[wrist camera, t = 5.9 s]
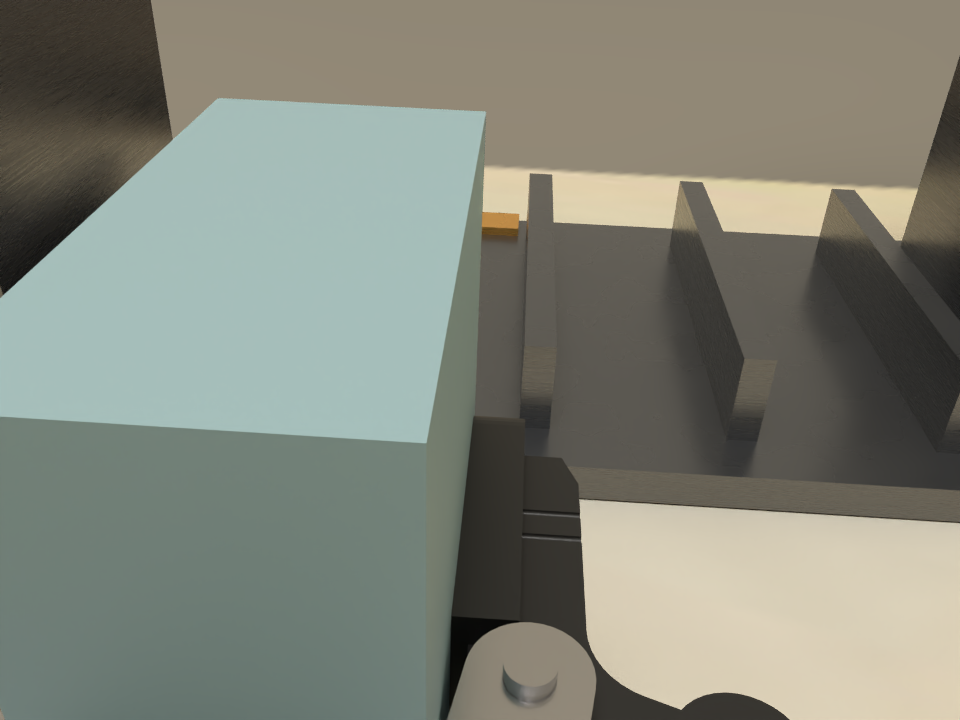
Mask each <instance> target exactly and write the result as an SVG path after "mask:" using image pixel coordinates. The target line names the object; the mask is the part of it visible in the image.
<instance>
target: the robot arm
mask: <svg viewBox="0 0 960 720" xmlns="http://www.w3.org/2000/svg"><path fill="white" fill-rule="evenodd" d="M524 446H525V419H521V418H504V417H487V416H474V417H473V424H472V433H471V442H470V451H469V460H468V469H467V478H466V487H465V496H464V505H463V514H462V523H461V532H460V541H459V550H458V559H457V568H456V577H455V586H454V595H453V604H452V613H451V645H450V689H449V715H448V718H447V720H789V719H788V718H787V717H786V716H785V715H784V714H782V713H781V712H779V711H778V710H777V709H775V708H774V707H772V706H770V705H768V704H766V703H764V702H762V701H760V700H757V699H755V698H752V697H749V696H745V695H741V694H735V693H714V694H709V695H705V696H702V697H700V698H697V699H695V700H693V701H692V702H690V703H689V704H687V705H686V706H685V707H684V708H683V709H682V710H680V709H677V708H674V707H672V706H669V705H666V704H663V703H661V702H658V701H655V700H653V699H650V698H647V697H644V696H642V695H640V694H638V693H635V692H633V691H631V690H630V689H628V688H626V687H624V686H623V685H621V684H620V683H619V682H617V681H616V680H615V679H613V678H612V677H611V676H610V675H609V674H608V673H607V672H606V671H605V670H604V669H603V668H602V666H601V665H600V664H599V662H598V661H597V660H596V658H595V656H594V654H593V653H592V651H591V648H590V645H589V642H588V638H587V632H586V615H585V596H584V578H583V560H582V543H581V523H580V504H579V486H578V482H577V481H576V479H575V478H574V476H573V475H572V473H571V472H570V470H569V469H568V467H567V465H566V464H565V462H564V461H563V459H562V458H556V457H540V456H524ZM0 720H5V718H4V716H3V713H2V711H1V708H0Z"/></svg>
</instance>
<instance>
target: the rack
mask: <svg viewBox="0 0 960 720" xmlns="http://www.w3.org/2000/svg"><path fill="white" fill-rule="evenodd" d="M172 140H173V138H172V132H171V126H170V119H169V113H168V107H167V101H166V95H165V88H164V81H163V76H162V69H161V62H160V56H159V50H158V43H157V37H156V31H155V24H154V18H153V11H152V5H151V0H0V298H1V297H2V296H3V295H4V294H5V293H6V292H8V291H9V290H10V289H11V288H12V287H13V286H14V285H15V284H16V283H17V282H18V281H20V280H21V279H22V278H23V277H24V276H25V275H26V274H27V273H28V272H29V271H30V270H32V269H33V268H34V267H35V266H36V265H37V264H38V263H39V262H40V261H41V260H42V259H44V258H45V257H46V256H47V255H48V254H49V253H50V252H51V251H52V250H53V249H54V248H56V247H57V246H58V245H59V244H60V243H61V242H62V241H63V240H64V239H65V238H66V237H67V236H69V235H70V234H71V233H72V232H73V231H74V230H75V229H76V228H77V227H78V226H79V225H81V224H82V223H83V222H84V221H85V220H86V219H87V218H88V217H89V216H90V215H91V214H93V213H94V212H95V211H96V210H97V209H98V208H99V207H100V206H101V205H102V204H103V203H105V202H106V201H107V200H108V199H109V198H110V197H111V196H112V195H113V194H114V193H115V192H117V191H118V190H119V189H120V188H121V187H122V186H123V185H124V184H125V183H126V182H127V181H129V180H130V179H131V178H132V177H133V176H134V175H135V174H136V173H137V172H138V171H139V170H141V169H142V168H143V167H144V166H145V165H146V164H147V163H148V162H149V161H150V160H151V159H152V158H154V157H155V156H156V155H157V154H158V153H159V152H160V151H161V150H162V149H163V148H164V147H166V146H167V145H168V144H169V143H170V142H171V141H172ZM475 416H487V417H504V418H521V419H525V446H524V456H540V457H556V458H562V459H563V461H564V462H565V464H566V465H567V467H568V469H569V470H570V472H571V473H572V475H573V476H574V478H575V479H576V481H577V482H578V486H579V498H586V499H602V500H618V501H634V502H650V503H665V504H681V505H697V506H713V507H729V508H745V509H761V510H777V511H793V512H808V513H824V514H840V515H856V516H872V517H888V518H904V519H920V520H936V521H951V522H960V57H959V60H958V64H957V67H956V70H955V73H954V76H953V80H952V83H951V86H950V89H949V92H948V95H947V99H946V102H945V105H944V108H943V111H942V115H941V118H940V121H939V124H938V127H937V131H936V134H935V137H934V140H933V143H932V147H931V150H930V153H929V156H928V159H927V163H926V166H925V169H924V172H923V175H922V179H921V182H920V185H919V188H918V191H917V195H916V198H915V201H914V204H913V207H912V211H911V214H910V217H909V220H908V223H907V227H906V230H905V233H904V236H903V239H902V241H895V240H894V239H893V237H892V236H891V235H890V234H889V232H888V231H887V230H886V229H885V228H884V226H883V225H882V224H881V223H880V221H879V220H878V219H877V218H876V216H875V215H874V214H873V213H872V211H871V210H870V209H869V208H868V206H867V205H866V204H865V203H864V201H863V200H862V199H861V198H860V196H859V195H858V194H857V193H856V191H855V190H842V189H832V190H831V194H830V198H829V202H828V206H827V210H826V214H825V218H824V221H823V225H822V229H821V233H820V237H817V236H798V235H779V234H760V233H741V232H723V230H722V228H721V225H720V223H719V221H718V218H717V216H716V213H715V211H714V209H713V206H712V204H711V202H710V199H709V197H708V194H707V192H706V190H705V187H704V185H703V183H702V182H685V181H680V185H679V191H678V197H677V203H676V210H675V216H674V222H673V228H672V229H666V228H647V227H628V226H609V225H590V224H571V223H553V191H552V175H548V174H530V180H529V195H528V211H527V221H519V214H508V213H489V212H482V234H481V261H480V288H479V315H478V342H477V369H476V396H475Z"/></svg>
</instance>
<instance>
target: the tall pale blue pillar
mask: <svg viewBox="0 0 960 720" xmlns="http://www.w3.org/2000/svg"><path fill="white" fill-rule="evenodd" d="M485 126H486V112H481V111H461V110H442V109H421V108H401V107H383V106H362V105H342V104H324V103H303V102H283V101H264V100H245V99H225V98H218V99H217V100H216V101H215V102H214V103H213V104H211V105H210V106H209V107H208V108H207V109H206V110H205V111H204V112H203V113H202V114H201V115H199V116H198V117H197V118H196V119H195V120H194V121H193V122H192V123H191V124H190V125H189V126H187V127H186V128H185V129H184V130H183V131H182V132H181V133H180V134H179V135H178V136H176V137H175V138H174V139H173V140H172V141H171V142H170V143H169V144H168V145H167V146H166V147H164V148H163V149H162V150H161V151H160V152H159V153H158V154H157V155H156V156H155V157H154V158H152V159H151V160H150V161H149V162H148V163H147V164H146V165H145V166H144V167H143V168H142V169H141V170H139V171H138V172H137V173H136V174H135V175H134V176H133V177H132V178H131V179H130V180H129V181H127V182H126V183H125V184H124V185H123V186H122V187H121V188H120V189H119V190H118V191H117V192H115V193H114V194H113V195H112V196H111V197H110V198H109V199H108V200H107V201H106V202H105V203H103V204H102V205H101V206H100V207H99V208H98V209H97V210H96V211H95V212H94V213H93V214H91V215H90V216H89V217H88V218H87V219H86V220H85V221H84V222H83V223H82V224H81V225H79V226H78V227H77V228H76V229H75V230H74V231H73V232H72V233H71V234H70V235H69V236H67V237H66V238H65V239H64V240H63V241H62V242H61V243H60V244H59V245H58V246H57V247H56V248H54V249H53V250H52V251H51V252H50V253H49V254H48V255H47V256H46V257H45V258H44V259H42V260H41V261H40V262H39V263H38V264H37V265H36V266H35V267H34V268H33V269H32V270H30V271H29V272H28V273H27V274H26V275H25V276H24V277H23V278H22V279H21V280H20V281H18V282H17V283H16V284H15V285H14V286H13V287H12V288H11V289H10V290H9V291H8V292H6V293H5V294H4V295H3V296H2V297H1V298H0V708H1V711H2V713H3V716H4V718H5V720H447V718H448V715H449V689H450V645H451V613H452V604H453V595H454V586H455V577H456V568H457V559H458V550H459V541H460V532H461V523H462V514H463V505H464V496H465V487H466V478H467V469H468V460H469V451H470V442H471V433H472V424H473V417H474V416H475V396H476V369H477V342H478V315H479V288H480V261H481V234H482V207H483V180H484V154H485Z"/></svg>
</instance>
